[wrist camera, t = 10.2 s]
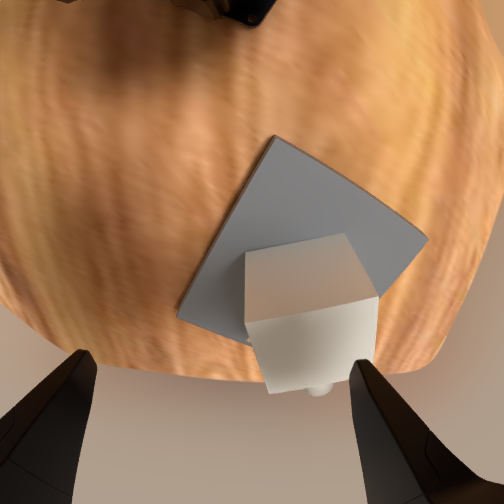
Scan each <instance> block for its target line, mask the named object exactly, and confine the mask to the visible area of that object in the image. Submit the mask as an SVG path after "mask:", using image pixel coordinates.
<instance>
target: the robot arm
mask: <svg viewBox="0 0 504 504" xmlns="http://www.w3.org/2000/svg"><path fill="white" fill-rule="evenodd" d="M58 1H61V2H64V3H67V4H68V3H72V2H74V1H77V0H58ZM170 1H171V2H172V3H173V4H174V5H175V6H177V7H180V8H183V9H186V10H189V11H192V12H195V13H198V14H200V15H203V16H206V17H208V18H211V19H214V20H218V19H221V18H222V17H226V18H228V19H231V20H233V21H235V22H238V23H240V24H242V25H244V26H247V27H250V28H256V27H258V26H259V25H260V24H261V23H262V22H263V20H264V19H265V17H266V16H267V14H268V13H269V11H270V10H271V8H272V7H273V5H274V4H275V2H276V1H277V0H170ZM250 16H255V17H256V18H257V21H256V22H253V23H252V22H249V21H248V18H249V17H250ZM96 374H97V365H96V363H95V361H94V359H93V357H92V355H91V354H90V352H89V351H88V350H83V349H78V350H76V351H75V352H74V353H73V354H72V355H71V356H69V357H68V358H67V359H66V360H65V361H64V362H63V363H62V364H61V365H59V366H58V367H57V368H56V369H55V370H54V371H52V372H51V373H50V374H49V375H48V376H47V377H46V378H45V379H43V380H42V381H41V382H40V383H39V384H38V385H37V386H36V387H35V388H34V389H32V390H31V391H30V392H29V393H28V394H27V395H26V396H25V397H24V398H23V399H22V400H20V401H19V402H18V403H17V404H16V405H15V406H14V407H13V408H12V409H11V410H10V411H9V412H7V413H6V414H5V415H4V416H3V417H2V418H1V419H0V504H72V496H73V489H74V483H75V478H76V472H77V467H78V462H79V457H80V452H81V447H82V442H83V438H84V434H85V429H86V425H87V421H88V417H89V413H90V409H91V404H92V398H93V392H94V386H95V380H96ZM349 385H350V395H351V405H352V417H353V424H354V428H355V434H356V439H357V444H358V449H359V455H360V460H361V465H362V471H363V477H364V483H365V489H366V496H367V502H368V504H504V485H503V484H499V483H494V482H490V481H487V480H485V479H483V478H481V477H479V476H477V475H476V474H475V473H474V472H473V471H471V470H470V469H469V468H468V467H467V466H466V465H465V464H464V463H463V462H461V461H460V460H459V459H458V458H457V457H456V456H455V455H454V454H452V452H451V451H450V450H449V449H448V448H446V447H445V446H444V444H443V443H442V442H441V441H440V440H439V439H438V438H437V437H436V436H435V435H434V433H433V432H432V431H429V430H430V429H429V428H428V427H427V425H426V424H425V423H424V422H423V421H422V420H421V419H420V417H419V416H418V415H417V414H416V413H415V412H414V411H413V410H412V408H411V407H410V406H409V405H408V404H407V403H406V402H405V400H404V399H403V398H402V397H401V396H400V395H399V393H398V392H397V391H396V390H395V389H394V388H393V387H392V386H391V384H390V383H389V382H388V381H387V380H386V379H385V378H384V377H383V375H382V374H381V373H380V372H379V371H378V370H377V369H376V368H375V366H374V365H373V364H372V363H371V362H370V361H369V360H368V359H357V360H356V361H355V362H354V364H353V367H352V369H351V372H350V374H349Z"/></svg>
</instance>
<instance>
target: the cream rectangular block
mask: <svg viewBox="0 0 504 504" xmlns="http://www.w3.org/2000/svg"><path fill="white" fill-rule="evenodd" d="M378 302H379V295H378V294H377V292H376V290H375V288H374V286H373V284H372V282H371V280H370V278H369V277H368V275H367V273H366V271H365V269H364V267H363V266H362V264H361V262H360V260H359V258H358V257H357V255H356V253H355V251H354V249H353V248H352V246H351V244H350V242H349V241H348V239H347V237H346V235H345V234H344V233H341V234H335V235H330V236H325V237H320V238H315V239H310V240H305V241H300V242H295V243H290V244H285V245H280V246H275V247H269V248H264V249H259V250H254V251H249V252H245V315H244V323H245V326H246V329H247V332H248V335H249V338H250V341H251V344H252V347H253V350H254V353H255V356H256V358H257V361H258V364H259V367H260V370H261V373H262V376H263V378H264V381H265V384H266V387H267V390H268V392H269V394H273V393H280V392H287V391H293V390H299V389H304V390H305V392H306V393H307V394H309V395H311V396H322V395H325V394H327V393H328V392H329V391H330V390H331V389H332V387H333V383H335V382H339V381H344V380H348V379H349V374H350V372H351V369H352V367H353V364H354V362H355V361H356V360H357V359H368V360H369V361H370V362H371V363H372V364H373V358H374V350H375V340H376V329H377V317H378Z"/></svg>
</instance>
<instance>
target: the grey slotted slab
mask: <svg viewBox="0 0 504 504" xmlns="http://www.w3.org/2000/svg"><path fill="white" fill-rule="evenodd" d="M341 233H344V234H345V235H346V237H347V239H348V241H349V242H350V244H351V246H352V248H353V249H354V251H355V253H356V255H357V257H358V258H359V260H360V262H361V264H362V266H363V267H364V269H365V271H366V273H367V275H368V277H369V278H370V280H371V282H372V284H373V286H374V288H375V290H376V292H377V294H378V295H379V299H380V298H381V296H382V295H383V294H384V293H385V292H386V291H387V290H388V289H389V287H390V286H391V285H392V284H393V283H394V282H395V281H396V279H397V278H398V277H399V276H400V275H401V274H402V272H403V271H404V270H405V269H406V268H407V266H408V265H409V264H410V263H411V262H412V260H413V259H414V258H415V257H416V255H417V254H418V253H419V252H420V250H421V249H422V248H423V247H424V245H425V244H426V243H427V241H428V240H429V239H428V238H427V237H426V235H425V234H424V233H423V232H422V231H421V230H419V229H418V228H417V227H416V226H414V225H413V224H412V223H410V222H409V221H408V220H406V219H405V218H404V217H402V216H401V215H400V214H398V213H397V212H396V211H394V210H393V209H391V208H390V207H389V206H387V205H386V204H384V203H383V202H382V201H380V200H379V199H377V198H376V197H375V196H373V195H372V194H370V193H369V192H367V191H366V190H364V189H363V188H361V187H360V186H358V185H357V184H355V183H354V182H352V181H351V180H349V179H348V178H346V177H345V176H343V175H342V174H340V173H339V172H337V171H335V170H334V169H332V168H331V167H329V166H327V165H326V164H324V163H323V162H321V161H319V160H318V159H316V158H314V157H313V156H311V155H309V154H308V153H306V152H304V151H303V150H301V149H299V148H298V147H296V146H294V145H292V144H291V143H289V142H287V141H285V140H284V139H282V138H280V137H278V136H276V135H274V137H273V138H272V140H271V142H270V143H269V145H268V147H267V148H266V150H265V152H264V153H263V155H262V157H261V159H260V160H259V162H258V164H257V165H256V167H255V169H254V171H253V172H252V174H251V176H250V177H249V179H248V181H247V183H246V184H245V186H244V188H243V190H242V191H241V193H240V195H239V197H238V198H237V200H236V202H235V204H234V206H233V207H232V209H231V211H230V213H229V214H228V216H227V218H226V220H225V222H224V223H223V225H222V227H221V229H220V231H219V232H218V234H217V236H216V238H215V240H214V242H213V243H212V245H211V247H210V249H209V251H208V253H207V254H206V256H205V258H204V260H203V262H202V264H201V266H200V268H199V269H198V271H197V273H196V275H195V277H194V279H193V281H192V283H191V284H190V286H189V288H188V290H187V292H186V294H185V296H184V298H183V300H182V302H181V304H180V306H179V308H178V312H177V315H176V317H177V318H179V319H182V320H184V321H186V322H189V323H191V324H194V325H196V326H199V327H201V328H204V329H206V330H209V331H211V332H214V333H216V334H219V335H222V336H224V337H227V338H229V339H232V340H235V341H238V342H240V343H243V344H246V345H248V346H251V347H252V344H251V341H250V338H249V335H248V332H247V329H246V326H245V323H244V315H245V252H249V251H254V250H259V249H264V248H269V247H275V246H280V245H285V244H290V243H295V242H300V241H305V240H310V239H315V238H320V237H325V236H330V235H335V234H341Z"/></svg>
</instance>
